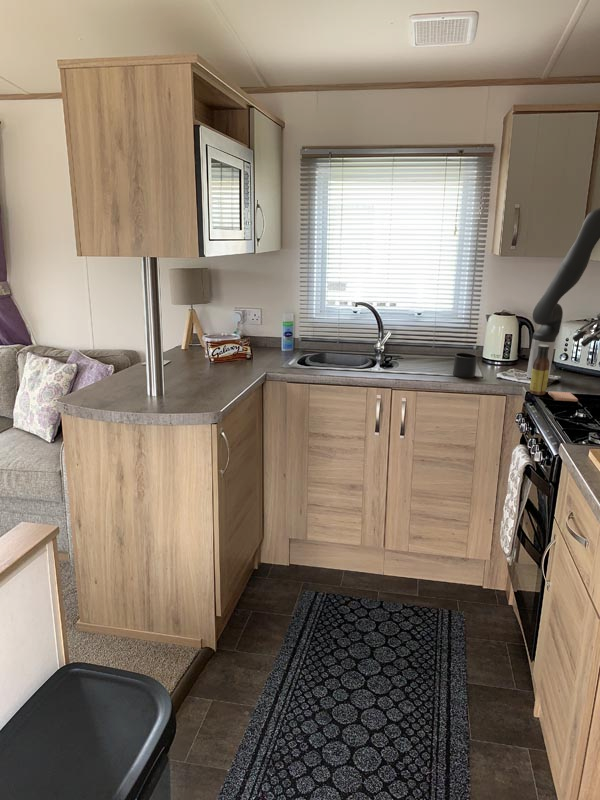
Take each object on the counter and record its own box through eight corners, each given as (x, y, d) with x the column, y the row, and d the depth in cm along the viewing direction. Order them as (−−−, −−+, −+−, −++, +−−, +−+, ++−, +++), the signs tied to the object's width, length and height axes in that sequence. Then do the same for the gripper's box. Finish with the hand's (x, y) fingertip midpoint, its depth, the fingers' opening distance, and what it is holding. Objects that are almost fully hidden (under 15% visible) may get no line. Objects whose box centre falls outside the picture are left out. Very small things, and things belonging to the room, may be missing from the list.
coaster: (548, 393, 246) (548, 391, 245) (569, 394, 245) (570, 392, 245) (555, 400, 238) (555, 397, 237) (577, 401, 237) (577, 399, 237)
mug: (468, 371, 274) (471, 351, 272) (477, 378, 263) (480, 358, 260) (448, 370, 274) (450, 351, 271) (456, 378, 262) (459, 357, 260)
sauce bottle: (541, 391, 248) (549, 343, 242) (548, 396, 242) (556, 347, 236) (525, 391, 248) (533, 343, 242) (531, 395, 242) (540, 346, 236)
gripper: (600, 304, 240) (565, 331, 244) (616, 310, 227) (579, 339, 231) (611, 318, 242) (576, 345, 246) (627, 325, 228) (590, 353, 232)
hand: (578, 342), depth 238 cm, fingers open, 8 cm apart
